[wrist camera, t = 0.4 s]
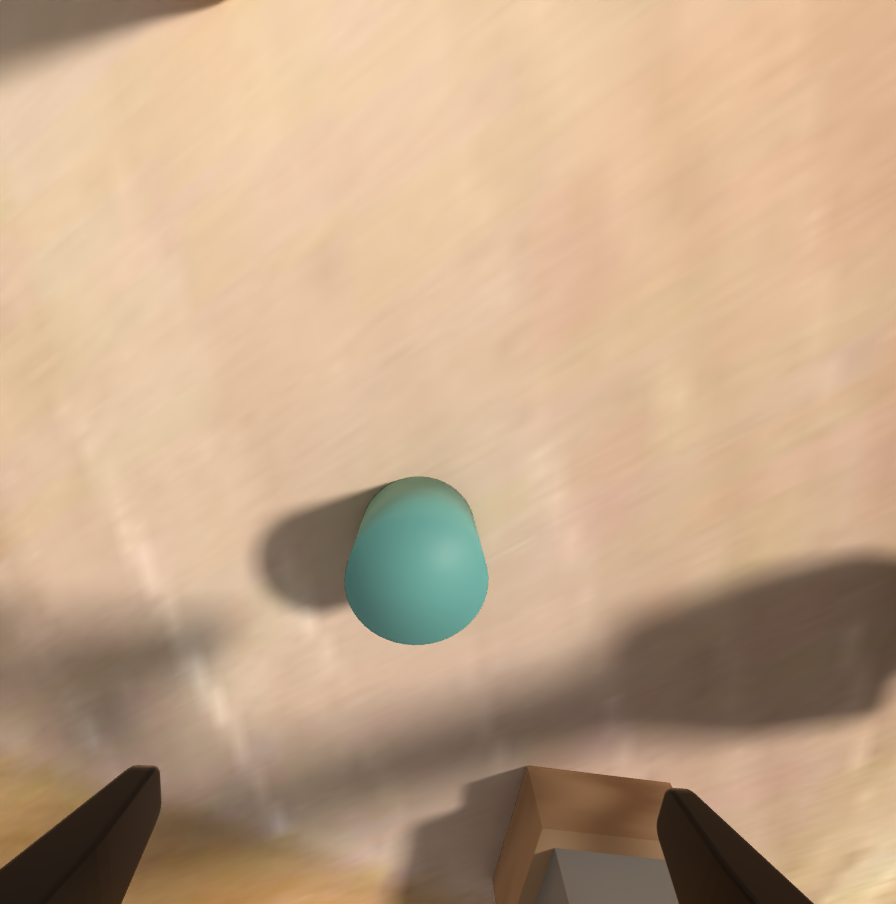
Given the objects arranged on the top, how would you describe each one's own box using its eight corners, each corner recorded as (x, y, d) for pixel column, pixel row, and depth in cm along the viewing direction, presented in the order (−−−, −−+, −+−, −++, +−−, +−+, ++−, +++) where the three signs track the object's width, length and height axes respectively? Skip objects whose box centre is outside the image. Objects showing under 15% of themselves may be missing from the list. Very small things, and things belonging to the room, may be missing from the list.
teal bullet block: (485, 487, 20) (502, 528, 15) (461, 588, 21) (471, 654, 16) (372, 466, 19) (356, 503, 15) (354, 571, 20) (334, 633, 16)
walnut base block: (666, 776, 25) (704, 846, 21) (623, 883, 26) (653, 964, 23) (525, 758, 24) (542, 828, 20) (491, 870, 26) (502, 952, 22)
